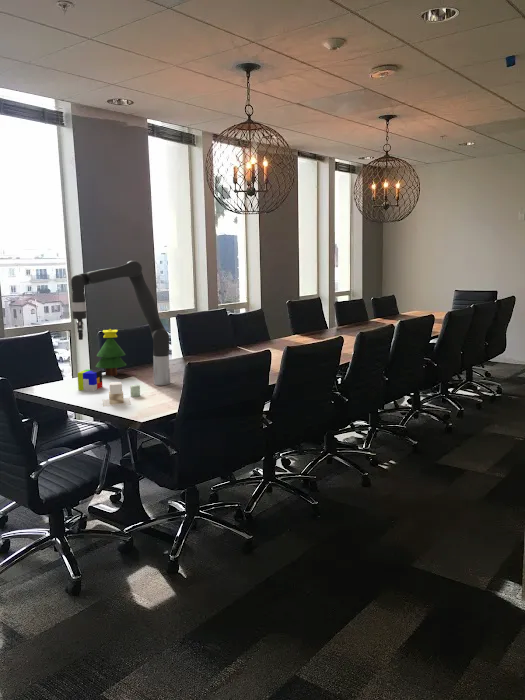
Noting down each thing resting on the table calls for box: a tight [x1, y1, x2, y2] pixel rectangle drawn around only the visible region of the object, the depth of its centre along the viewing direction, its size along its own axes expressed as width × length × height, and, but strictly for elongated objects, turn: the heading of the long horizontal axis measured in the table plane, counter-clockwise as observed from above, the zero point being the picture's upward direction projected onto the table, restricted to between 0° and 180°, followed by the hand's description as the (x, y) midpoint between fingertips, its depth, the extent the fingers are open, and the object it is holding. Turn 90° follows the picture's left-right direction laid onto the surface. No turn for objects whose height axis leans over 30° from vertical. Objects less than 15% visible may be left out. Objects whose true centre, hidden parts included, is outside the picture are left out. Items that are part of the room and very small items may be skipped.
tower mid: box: [109, 381, 123, 394], centre depth 309 cm, size 6×6×5 cm
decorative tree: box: [95, 328, 127, 377], centre depth 377 cm, size 19×19×30 cm
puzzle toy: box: [77, 369, 104, 392], centre depth 342 cm, size 10×10×10 cm
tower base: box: [108, 390, 125, 404], centre depth 310 cm, size 7×7×5 cm
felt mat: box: [102, 397, 132, 407], centre depth 310 cm, size 14×14×1 cm
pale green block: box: [130, 384, 141, 398], centre depth 323 cm, size 5×5×6 cm
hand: (80, 338), depth 337 cm, fingers open, 8 cm apart
